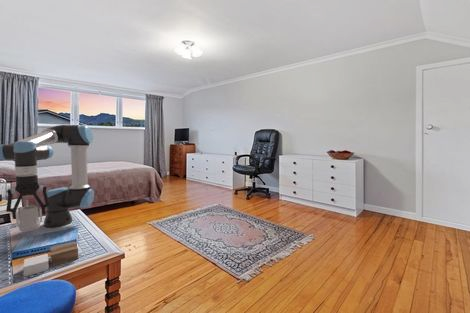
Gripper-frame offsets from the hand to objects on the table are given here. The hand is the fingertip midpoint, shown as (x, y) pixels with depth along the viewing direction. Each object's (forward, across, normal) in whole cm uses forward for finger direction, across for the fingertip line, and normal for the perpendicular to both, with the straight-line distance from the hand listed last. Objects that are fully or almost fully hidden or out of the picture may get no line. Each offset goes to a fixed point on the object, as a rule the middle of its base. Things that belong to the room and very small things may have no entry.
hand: (29, 223), depth 109 cm
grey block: (+17, +2, -13) cm, 21 cm away
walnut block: (+17, +12, -9) cm, 23 cm away
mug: (+2, 0, 0) cm, 2 cm away
